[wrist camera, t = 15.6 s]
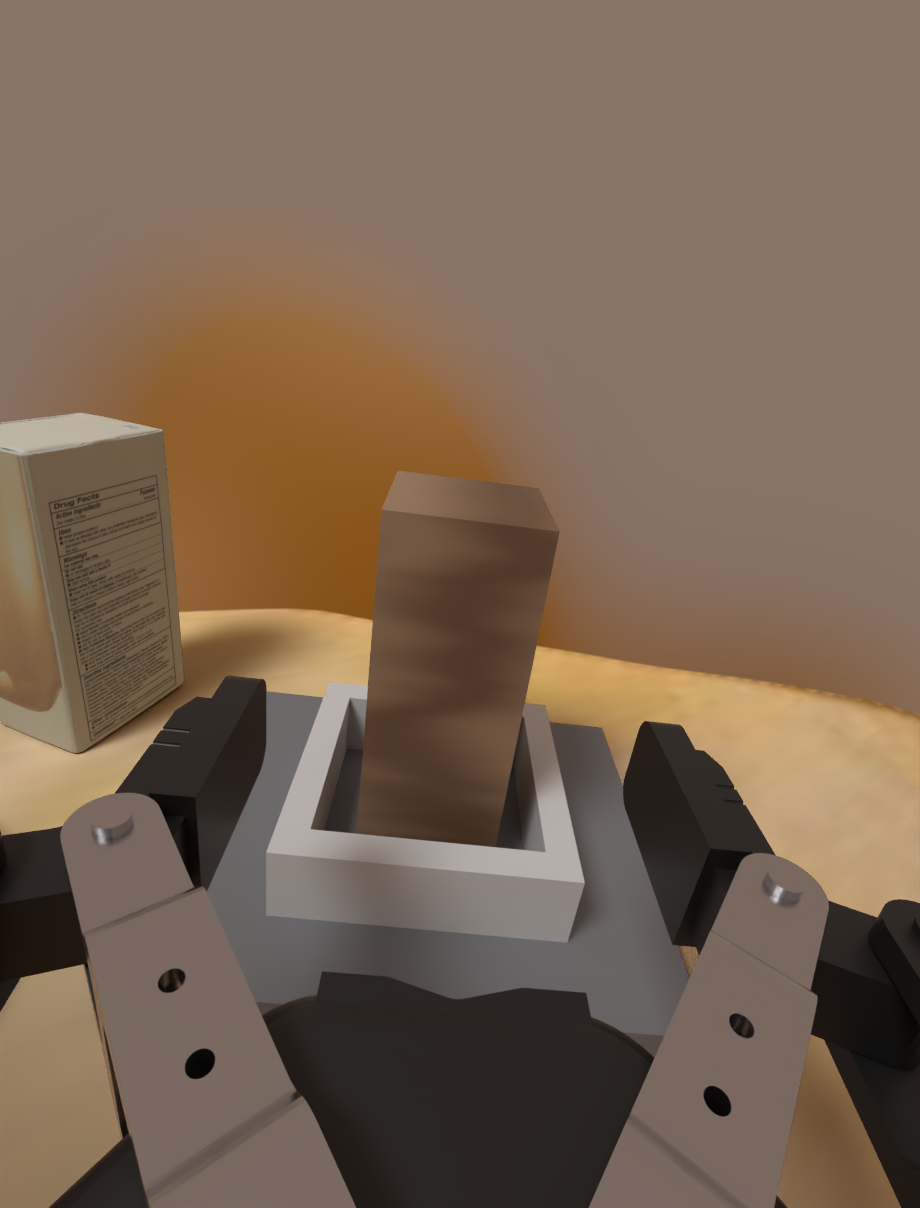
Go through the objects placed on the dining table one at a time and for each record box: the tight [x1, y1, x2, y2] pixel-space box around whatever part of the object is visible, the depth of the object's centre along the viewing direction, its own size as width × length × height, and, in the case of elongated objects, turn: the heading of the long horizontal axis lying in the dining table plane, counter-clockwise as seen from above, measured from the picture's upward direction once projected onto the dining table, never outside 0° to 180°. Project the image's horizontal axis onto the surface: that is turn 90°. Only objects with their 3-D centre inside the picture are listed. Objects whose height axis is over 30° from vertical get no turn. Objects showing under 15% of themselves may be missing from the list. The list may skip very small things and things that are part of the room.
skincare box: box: [0, 413, 184, 753], centre depth 25 cm, size 6×4×12 cm
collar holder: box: [207, 682, 689, 1058], centre depth 22 cm, size 16×14×4 cm
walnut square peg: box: [356, 471, 559, 847], centre depth 20 cm, size 4×4×12 cm
